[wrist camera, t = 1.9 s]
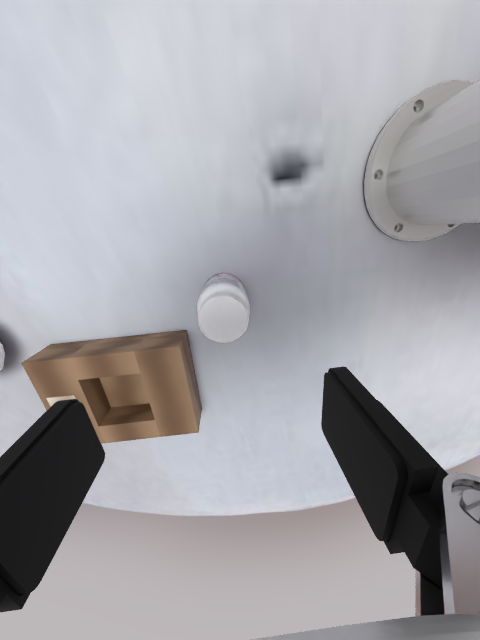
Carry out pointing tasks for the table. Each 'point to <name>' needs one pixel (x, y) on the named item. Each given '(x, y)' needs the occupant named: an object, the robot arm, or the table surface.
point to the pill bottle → (223, 308)
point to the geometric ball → (1, 356)
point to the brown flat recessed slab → (123, 384)
